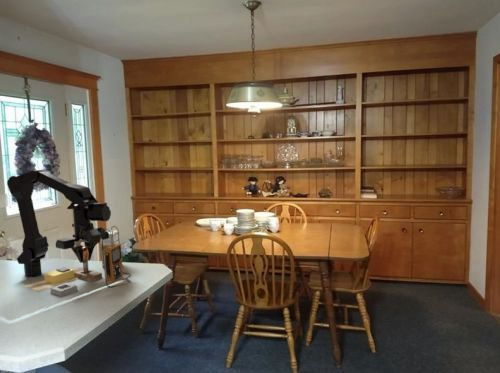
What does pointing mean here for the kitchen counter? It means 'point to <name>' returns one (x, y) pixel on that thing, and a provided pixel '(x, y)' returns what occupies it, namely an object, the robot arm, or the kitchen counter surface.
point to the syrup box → (109, 243)
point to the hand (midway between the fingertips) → (85, 261)
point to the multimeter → (113, 261)
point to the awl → (85, 257)
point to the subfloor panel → (45, 284)
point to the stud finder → (59, 275)
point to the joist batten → (86, 274)
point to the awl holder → (64, 289)
